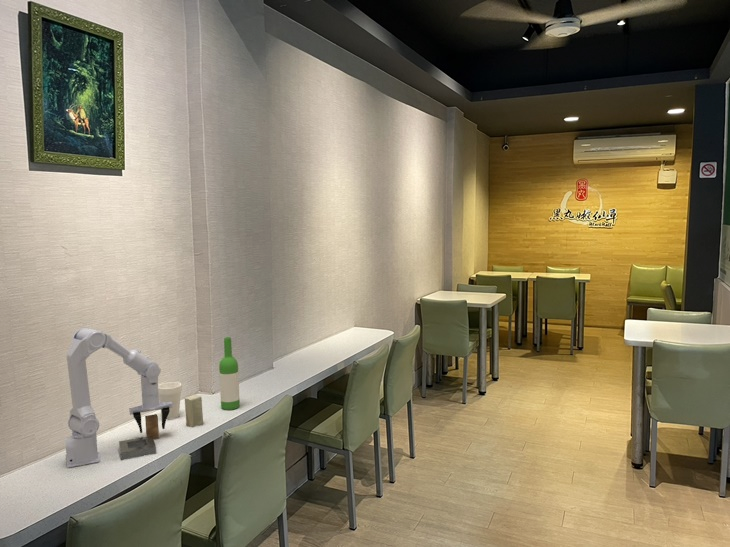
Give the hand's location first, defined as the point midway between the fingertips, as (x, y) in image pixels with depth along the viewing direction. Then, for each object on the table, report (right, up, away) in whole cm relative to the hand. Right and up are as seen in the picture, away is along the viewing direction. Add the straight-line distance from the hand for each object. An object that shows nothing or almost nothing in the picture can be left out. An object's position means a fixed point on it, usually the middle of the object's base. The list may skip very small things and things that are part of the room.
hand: (152, 429), depth 205 cm
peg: (0, -3, 0) cm, 3 cm away
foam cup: (-1, -1, +22) cm, 22 cm away
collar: (-1, -4, -11) cm, 12 cm away
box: (+12, -2, +13) cm, 17 cm away
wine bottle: (+21, 0, +32) cm, 38 cm away
